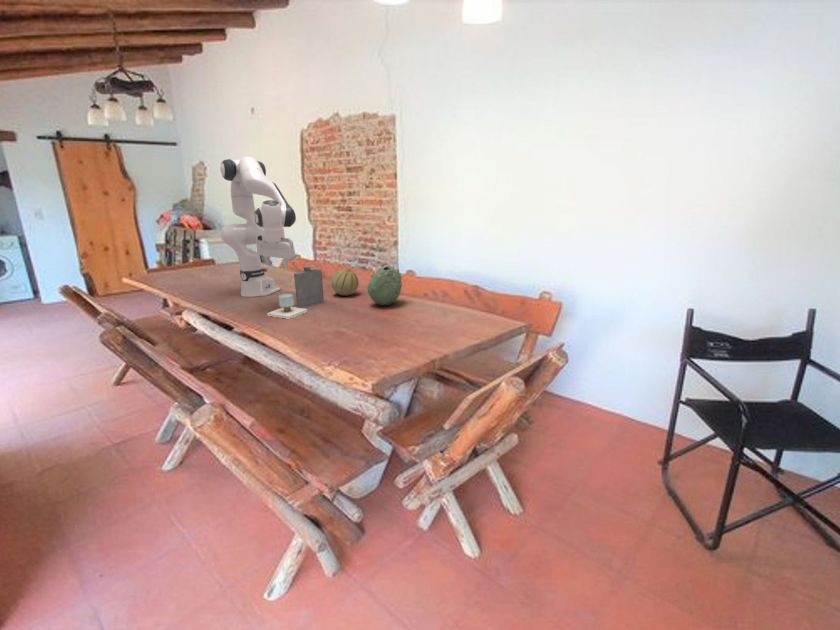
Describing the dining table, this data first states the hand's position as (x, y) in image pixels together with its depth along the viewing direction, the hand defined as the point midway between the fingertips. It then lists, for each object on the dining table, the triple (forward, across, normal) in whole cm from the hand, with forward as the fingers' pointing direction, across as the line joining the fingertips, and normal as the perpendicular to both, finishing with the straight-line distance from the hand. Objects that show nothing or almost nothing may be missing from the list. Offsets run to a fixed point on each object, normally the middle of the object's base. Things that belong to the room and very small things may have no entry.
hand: (277, 266), depth 206 cm
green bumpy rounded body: (+22, -41, -30) cm, 55 cm away
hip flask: (+23, -5, -15) cm, 28 cm away
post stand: (+22, -6, +2) cm, 23 cm away
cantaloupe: (+23, -11, -38) cm, 46 cm away
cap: (+18, -5, +2) cm, 19 cm away
